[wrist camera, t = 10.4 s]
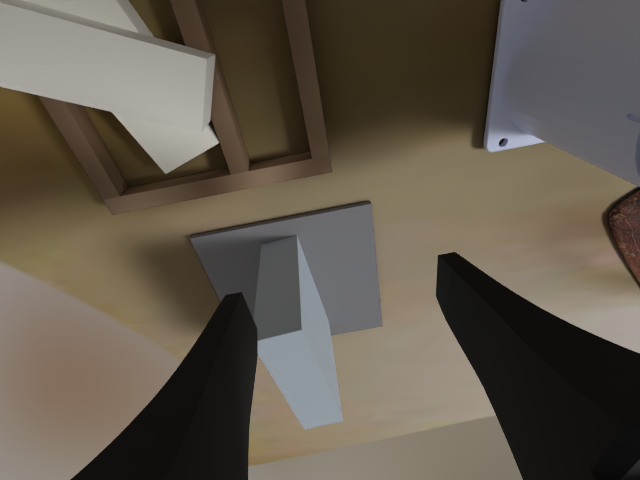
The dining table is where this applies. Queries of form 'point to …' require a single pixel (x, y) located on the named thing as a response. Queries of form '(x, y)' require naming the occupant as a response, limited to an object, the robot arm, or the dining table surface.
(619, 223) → the wooden tablet
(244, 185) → the offcut rack
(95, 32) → the upper offcut
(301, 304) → the pale grey rectangular block
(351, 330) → the grey mat
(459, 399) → the dining table surface
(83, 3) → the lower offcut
